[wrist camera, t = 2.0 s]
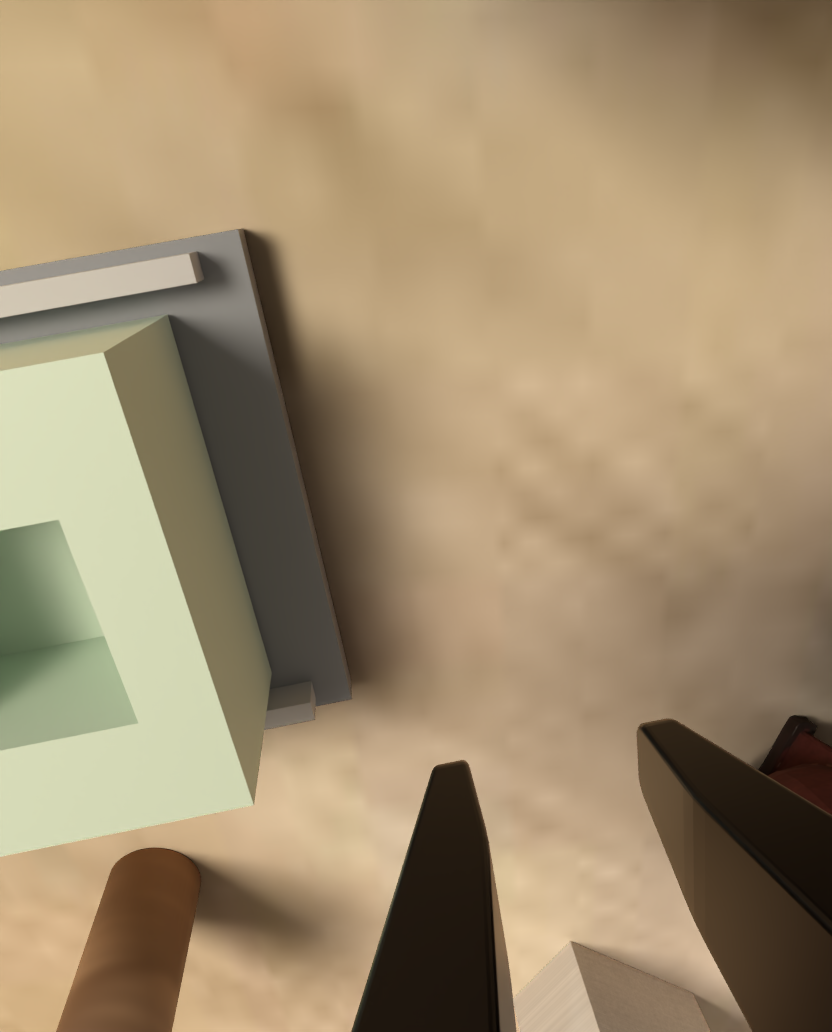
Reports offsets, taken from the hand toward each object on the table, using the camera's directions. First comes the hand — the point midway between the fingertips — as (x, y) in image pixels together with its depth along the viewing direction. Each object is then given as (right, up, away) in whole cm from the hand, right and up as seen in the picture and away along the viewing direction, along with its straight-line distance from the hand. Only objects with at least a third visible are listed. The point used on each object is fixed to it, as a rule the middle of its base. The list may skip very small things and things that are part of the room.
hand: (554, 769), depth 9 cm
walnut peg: (-10, -9, +16) cm, 21 cm away
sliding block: (-10, +2, +10) cm, 14 cm away
